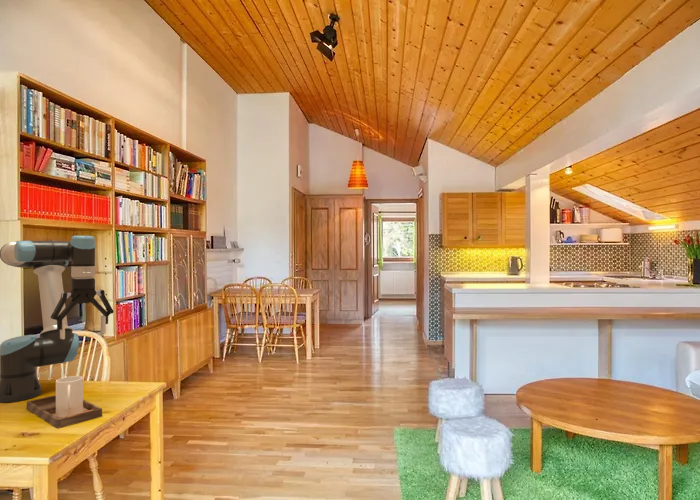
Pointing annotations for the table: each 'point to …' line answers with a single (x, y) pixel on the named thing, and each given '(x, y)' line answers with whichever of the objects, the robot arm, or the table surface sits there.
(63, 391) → the mug
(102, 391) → the table surface
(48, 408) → the rack
